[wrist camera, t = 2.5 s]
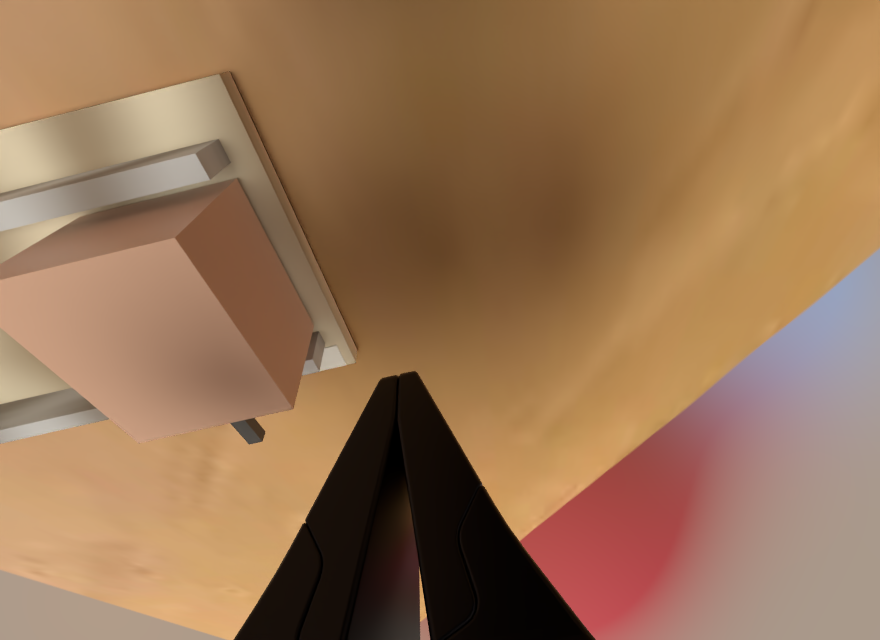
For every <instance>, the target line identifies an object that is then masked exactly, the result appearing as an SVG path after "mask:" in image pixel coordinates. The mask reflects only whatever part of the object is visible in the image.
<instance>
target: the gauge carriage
mask: <svg viewBox="0 0 880 640" xmlns="http://www.w3.org/2000/svg"><path fill="white" fill-rule="evenodd" d="M0 328H1V329H3V330H4V331H5V332H6V333H7V334H9V335H10V336H11V337H12V338H13V339H15V340H16V341H17V342H18V343H19V344H20V345H22V346H23V347H24V348H25V349H26V350H28V351H29V352H30V353H31V354H32V355H34V356H35V357H36V358H37V359H38V360H40V361H41V362H42V363H43V364H44V365H46V366H47V367H48V368H49V369H50V370H52V371H53V372H54V373H55V374H56V375H58V376H59V377H60V378H61V379H62V380H64V381H65V382H66V383H67V384H68V385H69V386H71V387H72V388H73V389H74V390H75V391H77V392H78V393H79V394H80V395H81V396H83V397H84V398H85V399H86V400H87V401H89V402H90V403H91V404H92V405H93V406H95V407H96V408H97V409H98V410H99V411H101V412H102V413H103V414H104V415H105V416H107V417H108V418H109V419H110V420H111V421H113V422H114V423H115V424H116V425H117V426H118V427H120V428H121V429H122V430H123V431H124V432H126V433H127V434H128V435H129V436H130V437H132V438H133V439H134V440H135V441H136V442H138V443H143V442H148V441H152V440H157V439H161V438H166V437H170V436H175V435H179V434H184V433H188V432H193V431H197V430H202V429H206V428H211V427H215V426H219V425H224V424H228V423H231V425H232V426H233V427H234V428H235V429H236V430H237V431H238V432H239V434H240V435H241V436H242V437H243V438H244V439H245V440H246V441H247V443H248V444H253V443H258V442H262V441H263V438H264V435H265V431H264V429H263V428H262V427H261V426H260V424H259V423H258V422H257V421H256V420H255V417H260V416H264V415H269V414H273V413H278V412H282V411H287V410H291V409H293V408H294V404H295V400H296V396H297V392H298V388H299V384H300V380H301V376H302V372H303V368H304V364H305V360H306V356H307V352H308V348H309V344H310V340H311V336H312V332H313V329H314V325H313V323H312V321H311V319H310V317H309V315H308V313H307V311H306V309H305V307H304V306H303V304H302V302H301V300H300V298H299V296H298V294H297V292H296V290H295V288H294V286H293V285H292V283H291V281H290V279H289V277H288V275H287V273H286V271H285V269H284V267H283V266H282V264H281V262H280V260H279V258H278V256H277V254H276V252H275V250H274V248H273V247H272V245H271V243H270V241H269V239H268V237H267V235H266V233H265V231H264V229H263V228H262V226H261V224H260V222H259V220H258V218H257V216H256V214H255V212H254V210H253V208H252V207H251V205H250V203H249V201H248V199H247V197H246V195H245V193H244V191H243V189H242V188H241V186H240V184H239V182H238V180H237V178H236V179H232V180H227V181H223V182H219V183H215V184H211V185H207V186H203V187H199V188H195V189H191V190H187V191H183V192H179V193H175V194H170V195H166V196H162V197H158V198H154V199H150V200H146V201H142V202H138V203H134V204H130V205H126V206H122V207H118V208H114V209H109V210H105V211H101V212H97V213H93V214H89V215H85V216H81V217H78V218H77V219H75V220H73V221H72V222H70V223H68V224H67V225H65V226H63V227H62V228H60V229H58V230H57V231H55V232H53V233H52V234H50V235H48V236H47V237H45V238H43V239H42V240H40V241H38V242H37V243H35V244H33V245H32V246H30V247H28V248H27V249H25V250H23V251H21V252H20V253H18V254H16V255H15V256H13V257H11V258H10V259H8V260H6V261H5V262H3V263H1V264H0Z"/></svg>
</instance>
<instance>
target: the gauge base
mask: <svg viewBox="0 0 880 640" xmlns="http://www.w3.org/2000/svg"><path fill="white" fill-rule="evenodd" d="M236 178H237V180H238V182H239V184H240V186H241V188H242V189H243V191H244V193H245V195H246V197H247V199H248V201H249V203H250V205H251V207H252V208H253V210H254V212H255V214H256V216H257V218H258V220H259V222H260V224H261V226H262V228H263V229H264V231H265V233H266V235H267V237H268V239H269V241H270V243H271V245H272V247H273V248H274V250H275V252H276V254H277V256H278V258H279V260H280V262H281V264H282V266H283V267H284V269H285V271H286V273H287V275H288V277H289V279H290V281H291V283H292V285H293V286H294V288H295V290H296V292H297V294H298V296H299V298H300V300H301V302H302V304H303V306H304V307H305V309H306V311H307V313H308V315H309V317H310V319H311V321H312V323H313V325H314V329H313V332H312V336H311V340H310V344H309V348H308V352H307V356H306V360H305V364H304V368H303V372H302V376H303V375H307V374H311V373H316V372H320V371H323V370H327V369H332V368H336V367H341V366H345V365H348V364H353V363H356V357H357V349H356V346H355V344H354V342H353V340H352V338H351V335H350V333H349V331H348V329H347V327H346V325H345V322H344V320H343V318H342V316H341V314H340V311H339V309H338V307H337V305H336V303H335V300H334V298H333V296H332V294H331V292H330V290H329V287H328V285H327V283H326V281H325V279H324V276H323V274H322V272H321V270H320V268H319V266H318V263H317V261H316V259H315V257H314V255H313V252H312V250H311V248H310V246H309V244H308V242H307V239H306V237H305V235H304V233H303V231H302V228H301V226H300V224H299V222H298V220H297V218H296V215H295V213H294V211H293V209H292V207H291V204H290V202H289V200H288V198H287V196H286V193H285V191H284V189H283V187H282V185H281V183H280V180H279V178H278V176H277V174H276V172H275V169H274V167H273V165H272V163H271V161H270V159H269V156H268V154H267V152H266V150H265V148H264V145H263V143H262V141H261V139H260V137H259V135H258V132H257V130H256V128H255V126H254V124H253V121H252V119H251V117H250V115H249V113H248V110H247V108H246V106H245V104H244V102H243V100H242V97H241V95H240V93H239V91H238V89H237V86H236V84H235V82H234V80H233V78H232V76H231V73H230V71H229V72H225V73H221V74H217V75H213V76H209V77H205V78H201V79H198V80H194V81H190V82H186V83H182V84H178V85H174V86H170V87H166V88H162V89H158V90H155V91H151V92H147V93H143V94H139V95H135V96H131V97H127V98H123V99H119V100H116V101H112V102H108V103H104V104H100V105H96V106H92V107H88V108H84V109H80V110H76V111H73V112H69V113H65V114H61V115H57V116H53V117H49V118H45V119H41V120H37V121H34V122H30V123H26V124H22V125H18V126H14V127H10V128H6V129H2V130H0V264H1V263H3V262H5V261H6V260H8V259H10V258H11V257H13V256H15V255H16V254H18V253H20V252H21V251H23V250H25V249H27V248H28V247H30V246H32V245H33V244H35V243H37V242H38V241H40V240H42V239H43V238H45V237H47V236H48V235H50V234H52V233H53V232H55V231H57V230H58V229H60V228H62V227H63V226H65V225H67V224H68V223H70V222H72V221H73V220H75V219H77V218H78V217H81V216H85V215H89V214H93V213H97V212H101V211H105V210H109V209H114V208H118V207H122V206H126V205H130V204H134V203H138V202H142V201H146V200H150V199H154V198H158V197H162V196H166V195H170V194H175V193H179V192H183V191H187V190H191V189H195V188H199V187H203V186H207V185H211V184H215V183H219V182H223V181H227V180H232V179H236ZM108 419H109V418H108V417H107V416H105V415H104V414H103V413H102V412H101V411H99V410H98V409H97V408H96V407H95V406H93V405H92V404H91V403H90V402H89V401H87V400H86V399H85V398H84V397H83V396H81V395H80V394H79V393H78V392H77V391H75V390H74V389H73V388H72V387H71V386H69V385H68V384H67V383H66V382H65V381H64V380H62V379H61V378H60V377H59V376H58V375H56V374H55V373H54V372H53V371H52V370H50V369H49V368H48V367H47V366H46V365H44V364H43V363H42V362H41V361H40V360H38V359H37V358H36V357H35V356H34V355H32V354H31V353H30V352H29V351H28V350H26V349H25V348H24V347H23V346H22V345H20V344H19V343H18V342H17V341H16V340H15V339H13V338H12V337H11V336H10V335H9V334H7V333H6V332H5V331H4V330H3V329H1V328H0V444H1V443H6V442H10V441H15V440H19V439H23V438H28V437H32V436H37V435H41V434H46V433H50V432H54V431H59V430H63V429H68V428H72V427H77V426H81V425H86V424H90V423H95V422H99V421H104V420H108Z"/></svg>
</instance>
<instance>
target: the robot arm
mask: <svg viewBox="0 0 880 640" xmlns="http://www.w3.org/2000/svg"><path fill="white" fill-rule="evenodd" d="M305 521H306V523H304V524H302V526H301V528H300V530H299V532H298V534H297V536H296V538H295V539H294V541H293V543H292V545H291V547H290V549H289V550H288V552H287V554H286V556H285V557H284V559H283V561H282V563H281V564H280V566H279V568H278V570H277V572H276V573H275V575H274V577H273V578H272V580H271V581H270V583H269V585H268V586H267V588H266V590H265V591H264V593H263V594H262V596H261V598H260V599H259V601H258V603H257V604H256V606H255V607H254V609H253V611H252V612H251V614H250V615H249V617H248V618H247V620H246V621H245V623H244V624H243V626H242V628H241V629H240V631H239V632H238V634H237V635H236V637H235V638H234V640H420V591H419V567H420V574H421V581H422V587H423V594H424V600H425V607H426V613H427V620H428V626H429V633H430V640H595V638H594V637H593V636H592V635H591V633H590V632H589V631H588V630H587V628H586V627H585V626H584V625H583V624H582V622H581V621H580V620H579V618H578V617H577V616H576V615H575V613H574V612H573V611H572V609H571V608H570V607H569V605H568V604H567V603H566V602H565V600H564V599H563V598H562V596H561V595H560V594H559V593H558V591H557V590H556V589H555V587H554V586H553V585H552V584H551V582H550V581H549V580H548V578H547V577H546V576H545V575H544V573H543V572H542V571H541V569H540V568H539V567H538V565H537V564H536V563H535V562H534V560H533V559H532V558H531V556H530V555H529V554H528V552H527V551H526V550H525V548H524V547H523V546H522V544H521V543H520V541H519V540H518V539H517V537H516V536H515V535H514V533H513V532H512V530H511V529H510V528H509V526H508V525H507V523H506V521H505V520H504V518H503V517H502V515H501V514H500V512H499V510H498V509H497V507H496V506H495V504H494V502H493V501H492V499H491V497H490V496H489V494H488V492H487V490H486V489H485V487H484V486H482V482H481V481H480V479H479V477H478V475H477V474H476V472H475V470H474V469H473V467H472V465H471V463H470V462H469V460H468V458H467V457H466V455H465V453H464V452H463V450H462V448H461V446H460V445H459V443H458V441H457V440H456V438H455V436H454V434H453V433H452V431H451V429H450V428H449V426H448V424H447V422H446V421H445V419H444V417H443V416H442V414H441V412H440V411H439V409H438V407H437V405H436V404H435V402H434V400H433V399H432V397H431V395H430V393H429V392H428V390H427V388H426V387H425V385H424V383H423V381H422V380H421V378H420V376H419V375H418V373H417V372H416V371H412V372H407V373H403V374H400V376H397V375H394V376H390V377H385V378H382V379H381V380H380V381H379V382H378V384H377V386H376V388H375V390H374V392H373V394H372V396H371V397H370V399H369V401H368V403H367V405H366V407H365V409H364V411H363V412H362V414H361V416H360V418H359V420H358V422H357V424H356V426H355V427H354V429H353V431H352V433H351V435H350V437H349V439H348V441H347V442H346V444H345V446H344V448H343V450H342V452H341V454H340V456H339V457H338V459H337V461H336V463H335V465H334V467H333V469H332V470H331V472H330V474H329V476H328V478H327V480H326V482H325V484H324V485H323V487H322V489H321V491H320V493H319V495H318V497H317V499H316V500H315V502H314V504H313V506H312V508H311V510H310V512H309V514H308V515H307V517H306V519H305Z"/></svg>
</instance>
